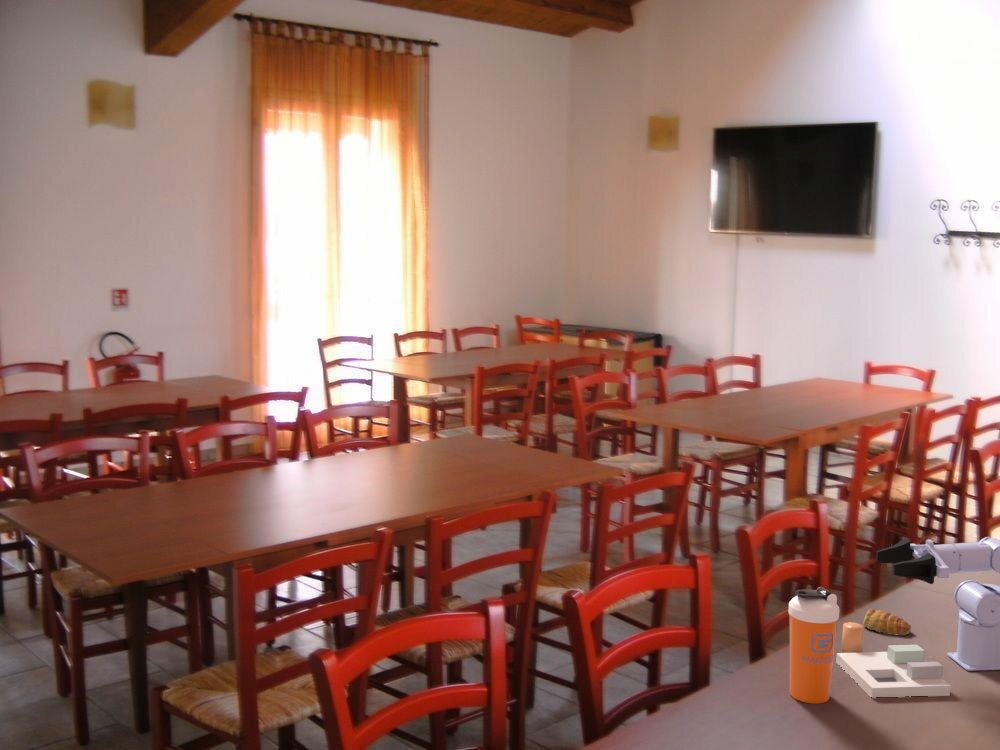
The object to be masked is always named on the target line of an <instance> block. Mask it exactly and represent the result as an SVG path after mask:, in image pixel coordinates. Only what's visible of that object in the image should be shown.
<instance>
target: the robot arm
mask: <svg viewBox="0 0 1000 750" xmlns="http://www.w3.org/2000/svg"><path fill="white" fill-rule="evenodd" d="M875 561H876V562H877V563H881V564H892V565H893V566H892V575H893V576H897V577H903V578H908V579H909V578H910V579H915V580H919V581H921V582H924V583H928V584H929V585H933V584H935V578H936V577H937V578H938V579H947V578H949V577H950V574H962V573H963V574H964V573H976V572H987V571H992V570H993V571H994V572H997V573H998V574H1000V539H998V538H996V537H991V536H986V537H983V538H982V539H980V540H979V541H978V542H960V543H959V542H958V543H944V544H943V543H942V544H935V543H934V541H933V540H931V539H926V540H925V544H916V543H911V540H910V539H908V538H902V540H900V541H899V542H897V543H896V544H894V545H890V546H888V547H885V548H882V549H879V550H876V552H875ZM953 600H954V603H955V605H956V606H957V607H958V608H959V609H958V616H959V617H958V626H957V627H958V628H957V643H956V651H955V652H953V651H952V652H950V651H949V652H947V656H948V657H949V658H951V660H953V661H954V662H956V663H957V665H960V666H961V667H962V668H963V669H964V670H966V671H972V672H974V671H996V670H998V671H1000V585H995V584H993V583H980V582H978V581H976V580H973V579H972V580H971V579H969V580H968V579H967V580H964V581H962V582H960V583H959V584H958V585H957V586H956V588H955V590H954V593H953Z"/></svg>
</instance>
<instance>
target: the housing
mask: <svg viewBox="0 0 1000 750" xmlns="http://www.w3.org/2000/svg"><path fill="white" fill-rule="evenodd" d="M835 661H836V662H835V663H836V664H837V666H839V665H840V666H839V667H840V668H841V667H842V668H841V670H843V671H844V670H845V671H844V672H845V674H846V675H848V674H849V675H850V676H849V675H848V676H849V677H850V678H851V679H852V678H853V679H854V680H855V681H854V680H853V679H852V680H853V681H854V682H855V683H856V684H857V683H858V684H857V685H858V686H859V687H860V689H862V690H863V691H864V693H866V694H867V695H868V696H869V698H871V697H872V698H871V699H877V698H876V697H898V698H906V697H905V696H909V697H908V698H912V697H911V696H928V697H949V696H950V695H951V685H950V684H949V683H948V682H947V681H946V680H944V679H943V669H944V665H942V664H941V663H940V662H939V661H924V662H908V663H903V664H894V663H893V662H892V661H890V660H889V659H888V658H887V651H872V652H871V651H867V652H865V651H862V652H860V653H842V652H836V660H835Z"/></svg>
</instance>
